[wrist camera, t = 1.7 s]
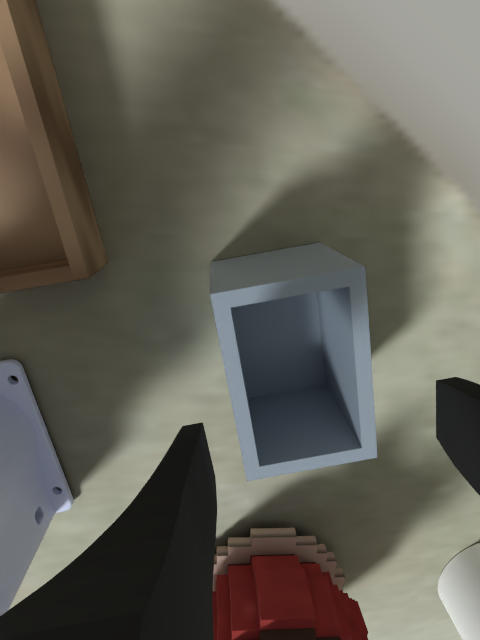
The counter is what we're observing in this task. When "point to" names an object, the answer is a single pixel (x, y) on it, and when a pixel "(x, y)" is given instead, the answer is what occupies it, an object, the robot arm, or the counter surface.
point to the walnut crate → (39, 166)
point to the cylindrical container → (463, 591)
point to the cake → (281, 590)
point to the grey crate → (296, 358)
